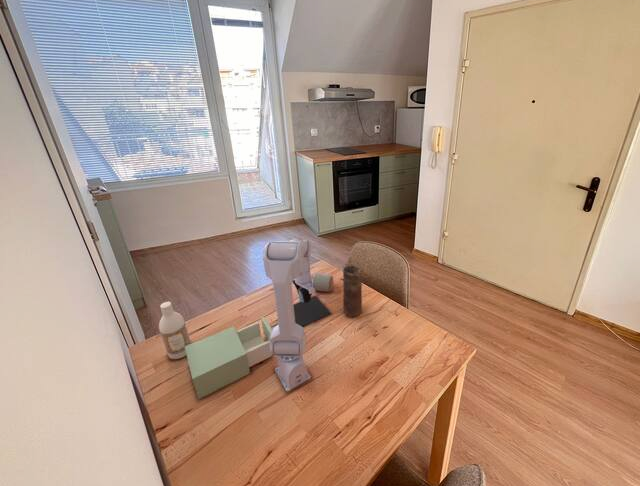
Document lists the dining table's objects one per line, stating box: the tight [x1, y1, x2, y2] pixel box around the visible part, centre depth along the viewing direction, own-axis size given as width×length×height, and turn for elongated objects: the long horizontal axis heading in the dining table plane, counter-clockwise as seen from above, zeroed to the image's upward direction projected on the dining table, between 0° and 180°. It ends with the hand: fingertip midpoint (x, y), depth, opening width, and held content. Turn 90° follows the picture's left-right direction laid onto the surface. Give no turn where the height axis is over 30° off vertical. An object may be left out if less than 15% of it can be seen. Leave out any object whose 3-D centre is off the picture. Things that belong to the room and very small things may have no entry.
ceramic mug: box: [312, 272, 334, 293], centre depth 131 cm, size 11×8×8 cm
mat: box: [293, 295, 332, 328], centre depth 117 cm, size 13×16×1 cm
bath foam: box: [158, 301, 192, 360], centre depth 94 cm, size 7×7×20 cm
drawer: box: [236, 316, 278, 368], centre depth 98 cm, size 18×12×7 cm
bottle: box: [298, 287, 304, 302], centre depth 113 cm, size 4×4×6 cm
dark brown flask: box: [342, 265, 363, 318], centre depth 115 cm, size 8×7×20 cm
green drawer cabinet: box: [185, 326, 251, 400], centre depth 91 cm, size 15×14×9 cm
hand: (304, 298), depth 114 cm, fingers closed on bottle, 4 cm apart
